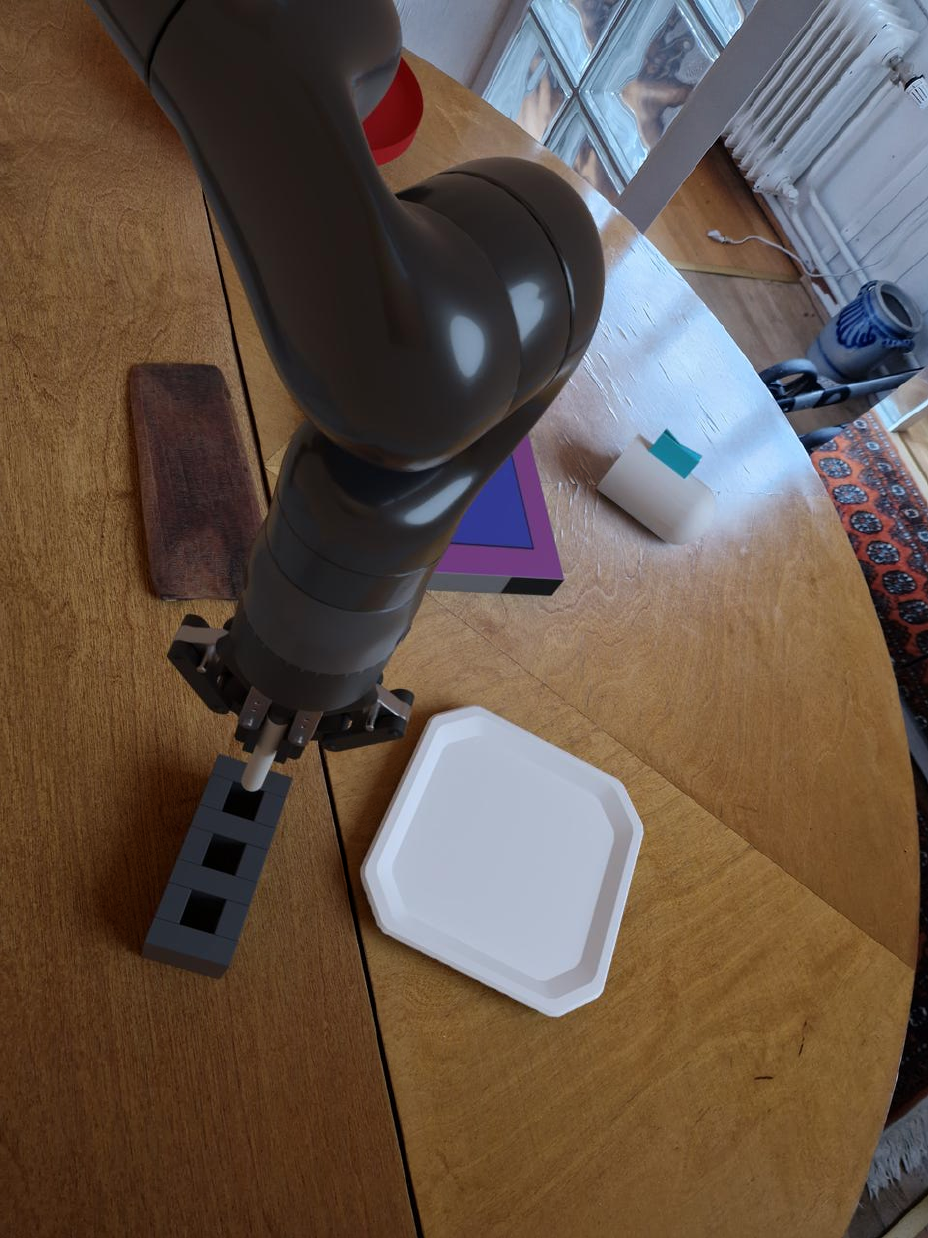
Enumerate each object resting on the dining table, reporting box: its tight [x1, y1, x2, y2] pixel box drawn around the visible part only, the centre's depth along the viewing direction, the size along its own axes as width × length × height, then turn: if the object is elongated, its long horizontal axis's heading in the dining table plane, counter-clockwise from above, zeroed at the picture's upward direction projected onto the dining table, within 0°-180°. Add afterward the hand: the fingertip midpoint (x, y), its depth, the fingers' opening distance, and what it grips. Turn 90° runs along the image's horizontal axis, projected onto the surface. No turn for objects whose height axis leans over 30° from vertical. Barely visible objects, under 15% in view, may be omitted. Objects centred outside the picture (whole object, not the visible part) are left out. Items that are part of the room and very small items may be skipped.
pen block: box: [140, 753, 293, 980], centre depth 62 cm, size 13×6×5 cm, turn 168°
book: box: [426, 432, 565, 597], centre depth 89 cm, size 21×3×30 cm
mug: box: [596, 427, 717, 546], centre depth 96 cm, size 12×9×12 cm
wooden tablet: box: [129, 362, 264, 603], centre depth 79 cm, size 26×2×10 cm
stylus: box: [241, 704, 295, 791], centre depth 54 cm, size 1×1×12 cm
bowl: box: [362, 55, 425, 167], centre depth 105 cm, size 30×30×10 cm
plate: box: [359, 704, 644, 1018], centre depth 71 cm, size 21×21×2 cm
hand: (267, 743), depth 54 cm, fingers closed on stylus, 1 cm apart
